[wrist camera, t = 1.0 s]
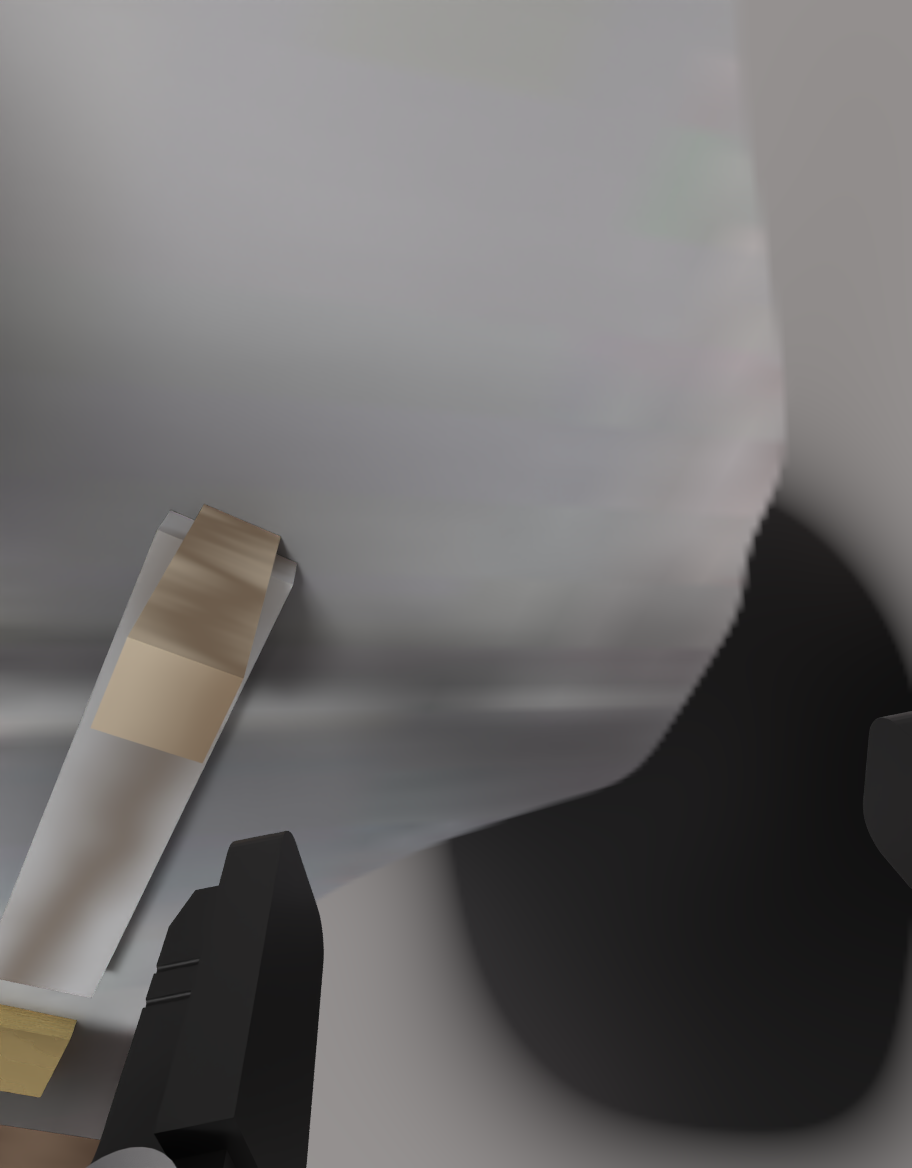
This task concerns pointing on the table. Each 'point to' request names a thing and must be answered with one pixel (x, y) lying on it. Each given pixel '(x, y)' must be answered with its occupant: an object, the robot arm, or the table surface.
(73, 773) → the plank with tan block
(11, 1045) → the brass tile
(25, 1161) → the walnut cabinet
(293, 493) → the table surface
